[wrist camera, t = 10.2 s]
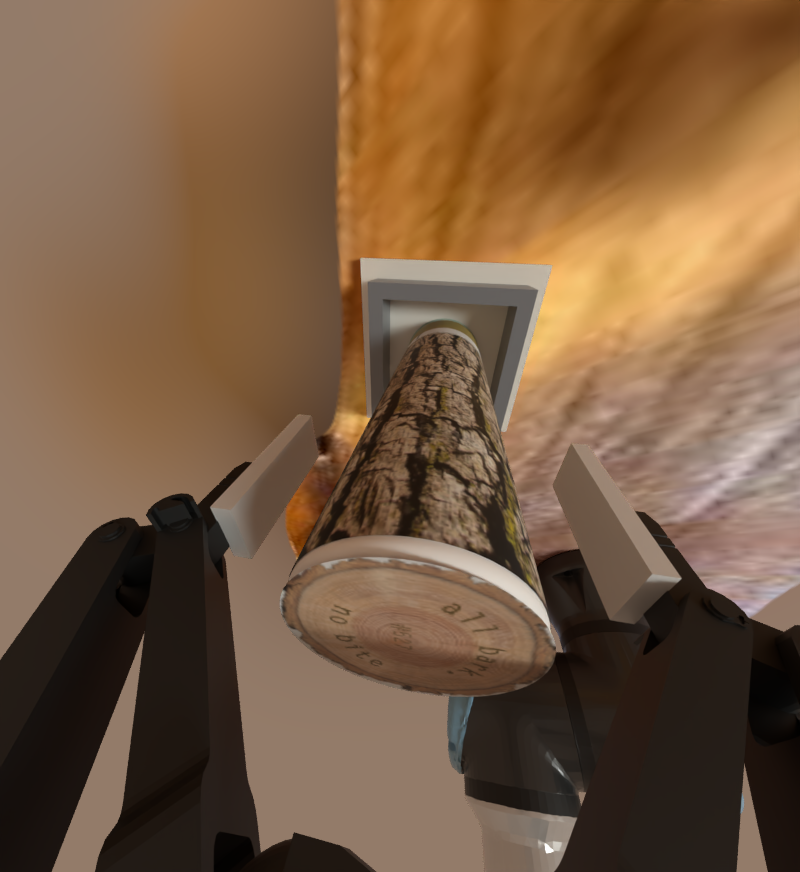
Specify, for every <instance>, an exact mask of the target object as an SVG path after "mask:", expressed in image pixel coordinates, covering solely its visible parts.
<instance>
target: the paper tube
mask: <svg viewBox="0 0 800 872" xmlns="http://www.w3.org/2000/svg"><path fill="white" fill-rule="evenodd" d="M280 610H281V614H282V617H283V619H284V621H285V623H286V625H287V626H288V628H289V629H290V630H291V632H292V633H293V634H294V635H295V636H296V638H297V639H298V640H299V641H300V642H302V643H303V644H304V645H305V646H306V647H307V648H309V649H310V650H311V651H312V652H314V653H315V654H317V655H318V656H320V657H321V658H323V659H325V660H326V661H328V662H330V663H331V664H333V665H335V666H337V667H339V668H341V669H343V670H345V671H348V672H350V673H352V674H354V675H357V676H359V677H362V678H365V679H367V680H370V681H373V682H376V683H380V684H383V685H386V686H389V687H393V688H398V689H402V690H406V691H411V692H417V693H423V694H430V695H438V696H451V697H478V696H489V695H497V694H502V693H507V692H511V691H514V690H518V689H521V688H523V687H526V686H528V685H530V684H532V683H534V682H536V681H537V680H539V679H540V678H542V677H543V676H544V675H545V674H546V673H547V672H548V671H549V669H550V668H551V667H552V664H553V662H554V660H555V655H556V647H555V642H554V639H553V636H552V634H551V622H550V617H549V613H548V609H547V605H546V601H545V598H544V594H543V590H542V586H541V583H540V579H539V575H538V571H537V567H536V564H535V560H534V556H533V552H532V549H531V545H530V541H529V537H528V533H527V530H526V526H525V522H524V518H523V515H522V511H521V507H520V503H519V499H518V496H517V492H516V488H515V484H514V481H513V477H512V473H511V469H510V465H509V462H508V458H507V454H506V450H505V447H504V443H503V439H502V435H501V431H500V428H499V424H498V420H497V416H496V413H495V409H494V405H493V401H492V397H491V394H490V390H489V386H488V382H487V379H486V375H485V371H484V367H483V363H482V360H481V356H480V353H479V349H478V346H477V342H476V340H475V338H474V336H473V335H472V333H471V332H470V331H469V330H468V329H467V328H466V327H464V326H463V325H461V324H459V323H457V322H454V321H449V320H439V321H435V322H432V323H429V324H427V325H425V326H424V327H422V328H421V329H420V330H419V331H418V332H417V333H416V334H415V336H414V337H413V339H412V341H411V342H410V344H409V346H408V348H407V350H406V351H405V353H404V355H403V357H402V359H401V361H400V363H399V365H398V367H397V369H396V371H395V373H394V374H393V376H392V378H391V380H390V382H389V384H388V386H387V388H386V390H385V392H384V394H383V396H382V398H381V399H380V401H379V403H378V405H377V407H376V409H375V411H374V413H373V415H372V417H371V419H370V421H369V423H368V424H367V426H366V428H365V430H364V432H363V434H362V436H361V438H360V440H359V442H358V444H357V446H356V447H355V449H354V451H353V453H352V455H351V457H350V459H349V461H348V463H347V465H346V467H345V469H344V471H343V472H342V474H341V476H340V478H339V480H338V482H337V484H336V486H335V488H334V490H333V492H332V494H331V495H330V497H329V499H328V501H327V503H326V505H325V507H324V509H323V511H322V513H321V515H320V517H319V519H318V520H317V522H316V524H315V526H314V528H313V530H312V532H311V534H310V536H309V538H308V540H307V542H306V544H305V545H304V547H303V549H302V551H301V553H300V555H299V557H298V559H297V561H296V563H295V565H294V567H293V568H292V571H291V573H290V576H289V581H288V583H287V584H286V586H285V587H284V589H283V591H282V593H281V597H280Z"/></svg>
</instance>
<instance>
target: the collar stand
mask: <svg viewBox="0 0 800 872" xmlns="http://www.w3.org/2000/svg"><path fill="white" fill-rule="evenodd" d="M360 263H361V287H362V311H363V335H364V359H365V383H366V407H367V417H368V418H371V417H372V415H373V413H374V411H375V409H376V407H377V405H378V403H379V401H380V399H381V398H382V396H383V394H384V392H385V390H386V388H387V386H388V384H389V382H390V380H391V378H392V376H393V374H394V373H395V371H396V369H397V367H398V365H399V363H400V361H401V359H402V357H403V355H404V353H405V351H406V350H407V348H408V346H409V344H410V342H411V341H412V339H413V337H414V336H415V334H416V333H417V332H418V331H419V330H420V329H421V328H422V327H424V326H425V325H427V324H429V323H432V322H435V321H439V320H449V321H454V322H457V323H459V324H461V325H463V326H464V327H466V328H467V329H468V330H469V331H470V332H471V333H472V335H473V336H474V338H475V340H476V342H477V346H478V349H479V353H480V356H481V360H482V363H483V367H484V371H485V375H486V379H487V382H488V386H489V390H490V394H491V397H492V401H493V405H494V409H495V413H496V416H497V420H498V424H499V428H500V431H502V432H506V430H507V426H508V423H509V419H510V415H511V412H512V408H513V405H514V401H515V398H516V394H517V390H518V387H519V383H520V380H521V376H522V373H523V369H524V365H525V362H526V358H527V355H528V351H529V347H530V344H531V340H532V337H533V333H534V330H535V326H536V322H537V319H538V315H539V312H540V308H541V304H542V301H543V297H544V294H545V290H546V287H547V283H548V279H549V276H550V272H551V269H552V265H541V264H515V263H489V262H462V261H436V260H409V259H383V258H360Z"/></svg>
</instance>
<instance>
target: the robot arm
mask: <svg viewBox="0 0 800 872" xmlns="http://www.w3.org/2000/svg"><path fill="white" fill-rule="evenodd" d="M318 457H319V456H318V450H317V444H316V438H315V432H314V426H313V419H312V416H310V415H300V414H298V415H297V416H296V417H295V418H294V419H293V420H292V421H291V422H290V423H289V425H288V426H287V427H286V428H285V429H284V430H283V431H282V432H281V433H280V434H279V435H278V436H277V437H276V438H275V439H274V440H273V441H272V442H271V443H270V444H269V446H268V447H267V448H266V449H265V450H264V451H263V452H262V453H261V454H260V455H259V456H258V457H257V458H256V459H255V460H254V461H253V462H245V463H243V464H241V465H239V466H238V467H236V468H234V470H232V471H231V472H230V473H229V474H228V475H227V476H226V478H224V479H223V480H222V481H221V482H220V483H219V485H217V486H216V487H215V488H214V489H213V490H212V491H211V492H210V493H209V494H208V495H207V496H206V497H205V498H204V499H203V500H202V501H201V502H200V503H199V504H198V505H197V504H196V502H195V501H194V499H193V497H192V496H191V495H189V494H175V495H171V496H169V497H166V498H164V499H162V500H160V501H159V502H157V503H155V504H154V505H153V506H152V507H151V508H150V509H149V510H148V512H147V514H146V516H147V517H148V519H149V520H150V522H151V523H152V525H149V526H139V525H138V523H137V522H136V521H135V519H132V518H129V517H128V518H119V519H116V520H112V521H110V522H108V523H105V524H103V525H101V526H100V527H99V528H97V529H96V530H94V531H93V532H92V533H91V534H90V535H89V536H88V537H87V538H86V540H85V541H84V543H83V544H82V546H81V547H80V548H79V550H78V551H77V553H76V554H75V555H74V557H73V558H72V560H71V561H70V562H69V564H68V565H67V567H66V568H65V570H64V571H63V572H62V574H61V575H60V577H59V578H58V579H57V581H56V582H55V584H54V585H53V586H52V588H51V589H50V591H49V592H48V593H47V595H46V596H45V598H44V599H43V601H42V602H41V603H40V605H39V606H38V608H37V609H36V611H35V612H34V613H33V615H32V616H31V617H30V619H29V620H28V622H27V623H26V624H25V626H24V627H23V629H22V630H21V632H20V633H19V634H18V636H17V637H16V639H15V640H14V642H13V643H12V644H11V646H10V647H9V648H8V650H7V651H6V653H5V654H4V655H3V657H2V659H1V660H0V872H52V869H53V867H54V864H55V861H56V859H57V856H58V854H59V851H60V848H61V846H62V843H63V841H64V838H65V835H66V833H67V830H68V827H69V825H70V823H71V820H72V818H73V815H74V812H75V810H76V807H77V805H78V802H79V799H80V797H81V794H82V791H83V789H84V787H85V784H86V781H87V779H88V776H89V773H90V771H91V768H92V766H93V763H94V761H95V758H96V756H97V753H98V750H99V748H100V745H101V743H102V740H103V737H104V735H105V732H106V730H107V727H108V725H109V722H110V719H111V717H112V714H113V712H114V709H115V706H116V704H117V701H118V699H119V696H120V694H121V691H122V688H123V686H124V683H125V681H126V678H127V676H128V673H129V670H130V668H131V665H132V663H133V660H134V657H135V655H136V652H137V650H138V647H139V645H140V642H141V639H142V636H143V634H144V641H143V650H142V658H141V665H140V673H139V682H138V690H137V697H136V705H135V713H134V721H133V729H132V736H131V745H130V752H129V760H128V768H127V776H126V784H125V792H124V800H123V806H122V811H121V815H120V817H119V820H118V823H117V824H116V825H115V827H114V828H113V829H112V831H111V832H110V834H109V835H108V836H107V838H106V839H105V841H104V844H103V847H102V849H101V851H100V854H99V857H98V861H97V865H96V870H95V872H376V871H375V870H374V869H372V868H371V867H370V866H369V865H367V864H366V863H365V862H364V861H363V860H362V859H360V858H359V857H358V856H357V855H356V854H354V853H353V852H352V851H351V850H350V849H348V848H345V847H342V846H340V845H336V844H333V843H329V842H325V841H322V840H319V839H315V838H312V837H308V836H305V835H301V834H298V833H294V834H293V838H292V839H289V840H285V841H282V842H280V843H278V844H275V845H273V846H271V847H269V848H268V849H266V850H265V851H263V852H261V851H260V841H259V832H258V824H257V816H256V809H255V804H254V799H253V796H252V793H251V790H250V787H249V783H248V778H247V771H246V762H245V752H244V742H243V732H242V722H241V712H240V701H239V691H238V681H237V671H236V662H235V652H234V641H233V631H232V621H231V611H230V602H229V591H228V581H227V571H226V561H225V558H224V555H223V554H224V553H225V552H226V550H227V549H228V548H229V547H230V549H231V551H232V553H233V555H234V556H238V557H244V558H250V559H252V558H253V556H254V555H255V553H256V552H257V550H258V549H259V547H260V546H261V544H262V543H263V541H264V540H265V538H266V537H267V535H268V533H269V532H270V530H271V529H272V527H273V526H274V524H275V523H276V521H277V520H278V518H279V517H280V515H281V513H282V512H283V511H284V509H285V507H286V506H287V504H288V503H289V501H290V500H291V498H292V497H293V495H294V494H295V492H296V491H297V489H298V488H299V486H300V485H301V483H302V481H303V480H304V478H305V477H306V475H307V474H308V472H309V471H310V469H311V468H312V466H313V465H314V463H315V462H316V460H317V459H318ZM553 488H554V490H555V493H556V495H557V497H558V500H559V502H560V504H561V507H562V509H563V511H564V514H565V516H566V518H567V521H568V523H569V525H570V528H571V530H572V532H573V535H574V537H575V540H576V542H577V544H578V547H579V549H580V550H579V551H572V552H567V553H563V554H560V555H557V556H554V557H552V558H550V559H548V560H546V561H544V562H543V563H542V564H540V565H539V566H538V567H537V571H538V575H539V579H540V583H541V586H542V590H543V594H544V598H545V601H546V605H547V609H548V613H549V617H550V621H551V623H552V625H553V626H554V628H555V630H556V632H557V633H558V635H559V638H560V642H561V646H562V649H563V653H560V652H556V655H555V660H554V662H553V664H552V667H551V668H550V669H549V671H548V672H547V673H546V674H545V675H544V676H543V677H542V678H540V679H539V680H537V681H536V682H534V683H532V684H530V685H528V686H526V687H523V688H521V689H518V690H514V691H511V692H507V693H502V694H497V695H489V696H478V697H451V696H449V704H448V721H447V725H448V726H447V731H448V739H449V745H448V751H449V758H450V762H451V765H452V767H453V768H454V769H455V770H457V772H459V773H460V774H464V779H465V799H466V801H467V802H468V804H469V806H470V807H471V809H472V811H473V812H474V814H475V816H476V817H477V819H478V821H479V824H480V827H481V829H482V843H483V858H484V872H736V869H737V856H738V842H739V828H740V814H741V813H742V811H743V808H744V798H743V794H742V786H743V772H744V763H745V768H746V772H747V777H748V782H749V786H750V791H751V796H752V800H753V805H754V809H755V814H756V819H757V823H758V828H759V833H760V837H761V842H762V846H763V851H764V856H765V860H766V865H767V870H768V872H800V625H795V626H793V627H792V628H790V629H788V630H786V631H785V632H783V631H780V630H777V629H775V628H773V627H770V626H768V625H765V624H763V623H760V622H758V621H755V620H752V619H750V618H748V617H747V615H746V614H745V612H744V611H743V610H741V609H740V608H739V607H738V606H737V605H736V604H735V603H734V602H732V601H731V600H729V599H728V598H726V597H725V596H723V595H722V594H720V593H717V592H715V591H713V590H711V589H707V588H706V586H705V585H704V584H703V582H702V581H701V580H700V579H699V577H698V576H697V575H696V573H695V572H694V571H693V569H692V568H691V567H690V565H689V564H688V563H687V561H686V560H685V559H684V557H683V556H682V555H681V553H680V552H679V551H678V549H675V545H674V544H673V543H672V541H671V540H670V539H669V538H667V535H666V533H665V532H664V531H663V529H662V528H661V527H660V525H659V524H658V523H657V522H655V521H654V520H653V519H652V518H651V517H649V516H648V515H647V514H646V513H645V512H638V511H634V509H633V508H632V507H631V505H630V504H629V502H628V501H627V499H626V498H625V497H624V495H623V494H622V492H621V491H620V489H619V488H618V487H617V485H616V484H615V482H614V481H613V479H612V478H611V477H610V475H609V474H608V472H607V471H606V470H605V468H604V467H603V465H602V464H601V462H600V461H599V460H598V458H597V457H596V455H595V454H594V452H593V451H592V450H591V448H590V447H589V445H584V444H575V443H571V445H570V447H569V449H568V452H567V454H566V456H565V458H564V461H563V463H562V465H561V468H560V470H559V472H558V474H557V477H556V479H555V481H554V483H553ZM144 632H145V633H144ZM579 792H586V795H585V798H584V801H583V803H582V806H581V803H580V799H579Z"/></svg>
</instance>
